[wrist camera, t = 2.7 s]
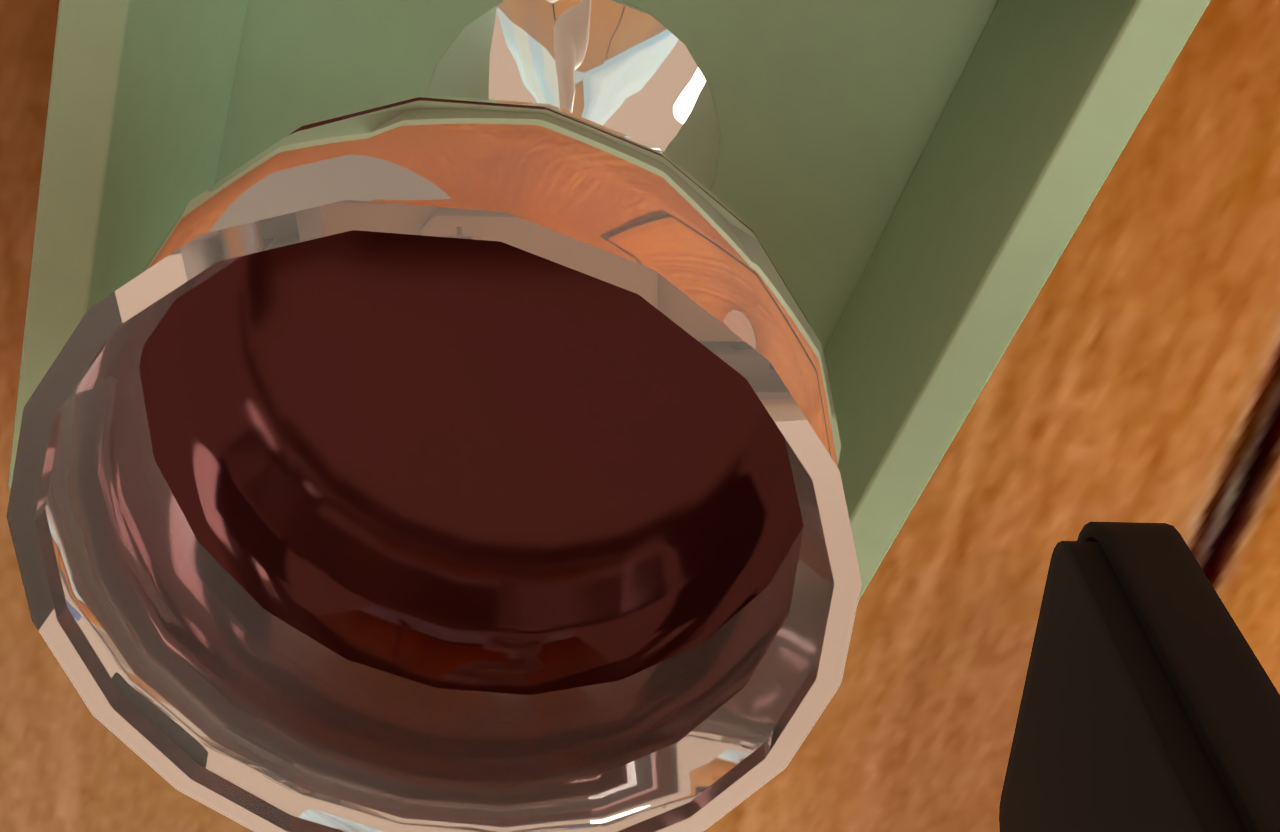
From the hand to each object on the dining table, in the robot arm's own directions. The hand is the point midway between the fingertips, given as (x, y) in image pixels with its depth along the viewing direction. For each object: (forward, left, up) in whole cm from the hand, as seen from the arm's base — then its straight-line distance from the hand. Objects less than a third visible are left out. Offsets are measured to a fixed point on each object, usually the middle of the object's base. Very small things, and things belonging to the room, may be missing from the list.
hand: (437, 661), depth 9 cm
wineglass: (0, 0, -13) cm, 13 cm away
